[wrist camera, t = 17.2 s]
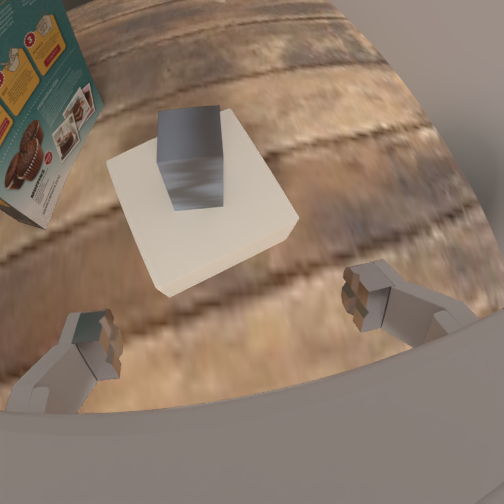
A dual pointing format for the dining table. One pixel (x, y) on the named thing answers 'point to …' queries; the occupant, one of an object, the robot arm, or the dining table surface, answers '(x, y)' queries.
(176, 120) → the slate block
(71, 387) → the robot arm
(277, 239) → the painted box
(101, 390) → the dining table surface
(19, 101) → the cake mix box
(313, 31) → the dining table surface
